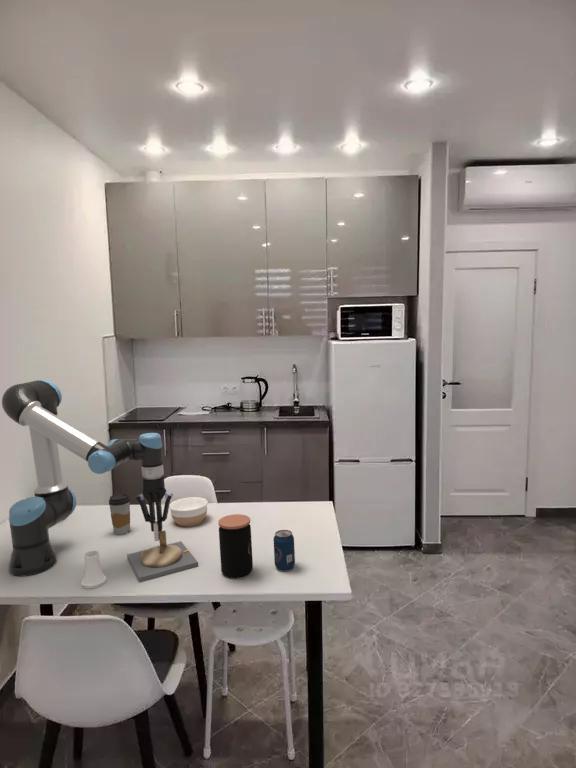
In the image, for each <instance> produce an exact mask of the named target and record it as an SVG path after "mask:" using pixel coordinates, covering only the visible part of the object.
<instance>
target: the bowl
mask: <svg viewBox="0 0 576 768" xmlns="http://www.w3.org/2000/svg"><path fill="white" fill-rule="evenodd" d="M208 502H209V501H208V500H207V499H206V498H204V497H200V496H192V497H191V496H189V497H183V498H179V499H176V500H174V501H172V502H170V504H169V509H170V516H171V518H172V520H173V521H174V522H176V523H177V525H178V526H181V527H193V526H197V525H199V524H201V523H202V522H203V520H204V519H205V517H207V513H208Z"/></svg>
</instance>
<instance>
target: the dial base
mask: <svg viewBox="0 0 576 768" xmlns="http://www.w3.org/2000/svg"><path fill="white" fill-rule="evenodd" d="M167 545H174V546H177V547H179V548H180V549H181V551H182V556H181V558H180V559H179V560H178V561H177V562H175V563H173V564H170V565H167V566H163V567H148V566H145V565H143V564H142V563H141V554H142V553H143V552H144V551H146V550H148V549H149V548H147V549H144V550H140V551H136V552H131V553H128V554H126V558H127V561H128V562H129V565H130V566H131V568H132V570H133V573H134V574H135V576H136V578H137V580H138V583H142V582H145V581H149V580H154V579H156V578H160V577H164V576H167V575H171V574H174V573H178V572H182V571H186V570H189V569H192V568H196V567H199V561H197V559H196V558H195V556H194V555H193V554H192V553H191V552H190V549H188V548H187V546H186V545H185V544H184V543H183V541H176V542H172V543H169V544H168V543H167ZM156 546H157V545H156ZM156 546H154V547H156Z"/></svg>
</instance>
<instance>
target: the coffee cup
mask: <svg viewBox="0 0 576 768" xmlns="http://www.w3.org/2000/svg"><path fill="white" fill-rule="evenodd" d="M130 498H131V497H130V496H129V493H128V494H127V493H116V494H112V495H110V496H109V499H108V505H109V509H110V518H111V525H112V528H113V533H114V534H115V535H116V534H123V535H126V534H128V533H129V532H130V531H129V530H131V508H130V507H131V499H130ZM127 532H128V533H127ZM125 533H126V534H125Z"/></svg>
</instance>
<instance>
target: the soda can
mask: <svg viewBox="0 0 576 768" xmlns="http://www.w3.org/2000/svg"><path fill="white" fill-rule="evenodd" d="M273 554H274V555H273V556H274V557H273V558H274V560H273V561H274V566H275V567H276V569H277V570H278V571H282V572H288V571H291V570H293V568H294V566H295V565H296V552H295V537H294V535H293V532H292V530H288V529H280V530H276V532H275V533H274V536H273Z"/></svg>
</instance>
